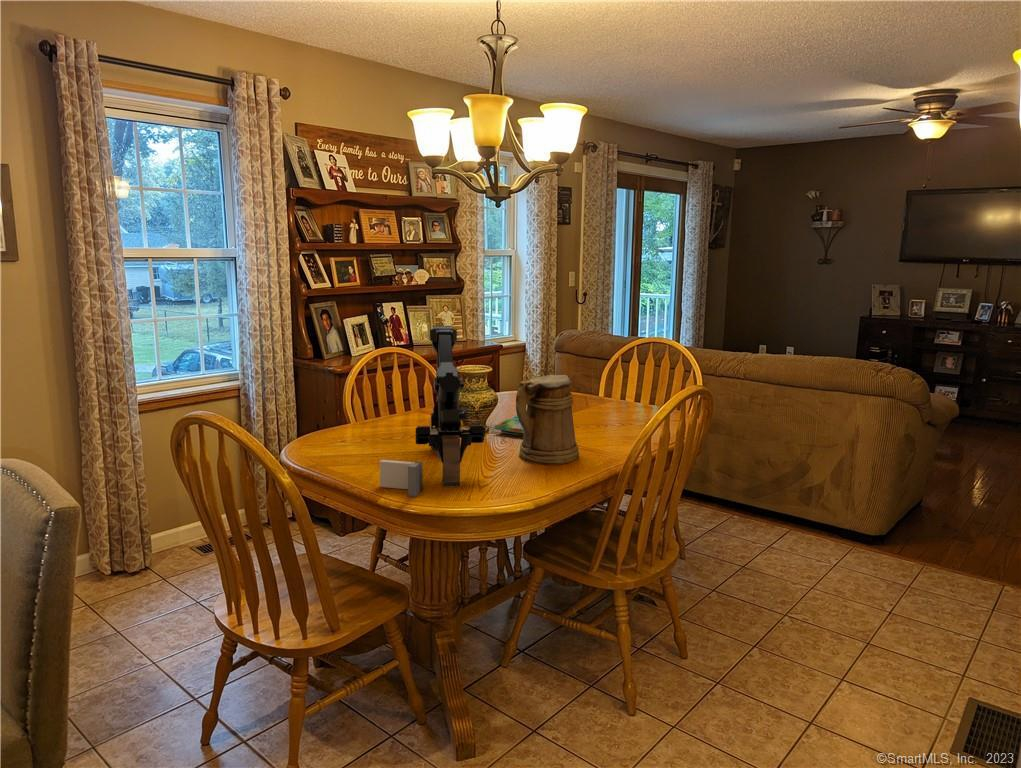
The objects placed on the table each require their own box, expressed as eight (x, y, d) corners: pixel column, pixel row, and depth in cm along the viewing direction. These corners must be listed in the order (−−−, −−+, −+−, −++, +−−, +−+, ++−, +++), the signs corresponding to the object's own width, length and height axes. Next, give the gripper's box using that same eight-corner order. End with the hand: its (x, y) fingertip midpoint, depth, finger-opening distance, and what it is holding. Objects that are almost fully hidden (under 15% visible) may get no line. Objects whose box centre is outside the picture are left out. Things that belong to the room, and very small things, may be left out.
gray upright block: (415, 497, 180) (415, 467, 179) (408, 496, 181) (407, 466, 179) (419, 493, 183) (419, 463, 182) (412, 492, 184) (411, 462, 182)
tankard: (590, 456, 218) (593, 377, 213) (540, 473, 201) (542, 387, 196) (546, 444, 230) (548, 369, 225) (495, 459, 213) (496, 378, 209)
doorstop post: (442, 481, 193) (442, 435, 190) (458, 481, 193) (458, 435, 191) (443, 487, 188) (443, 439, 186) (460, 486, 189) (460, 439, 186)
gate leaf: (423, 488, 186) (423, 462, 185) (421, 490, 184) (420, 464, 183) (382, 484, 189) (382, 458, 187) (379, 487, 187) (379, 460, 185)
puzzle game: (550, 415, 252) (525, 427, 235) (550, 428, 253) (525, 440, 236) (521, 411, 257) (494, 422, 240) (520, 423, 258) (494, 436, 241)
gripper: (415, 397, 189) (416, 448, 180) (484, 396, 191) (489, 446, 183) (415, 418, 198) (416, 468, 189) (481, 417, 201) (485, 466, 192)
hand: (451, 462), depth 188 cm, fingers closed on doorstop post, 4 cm apart
